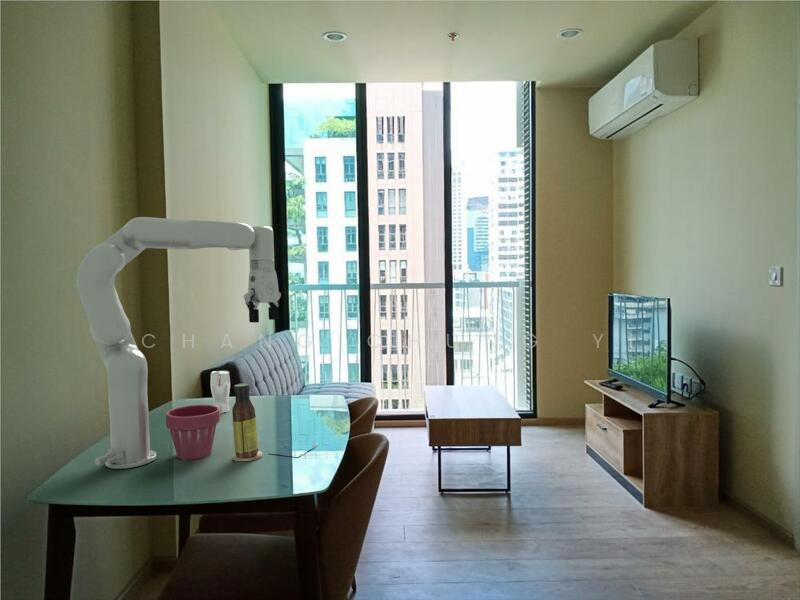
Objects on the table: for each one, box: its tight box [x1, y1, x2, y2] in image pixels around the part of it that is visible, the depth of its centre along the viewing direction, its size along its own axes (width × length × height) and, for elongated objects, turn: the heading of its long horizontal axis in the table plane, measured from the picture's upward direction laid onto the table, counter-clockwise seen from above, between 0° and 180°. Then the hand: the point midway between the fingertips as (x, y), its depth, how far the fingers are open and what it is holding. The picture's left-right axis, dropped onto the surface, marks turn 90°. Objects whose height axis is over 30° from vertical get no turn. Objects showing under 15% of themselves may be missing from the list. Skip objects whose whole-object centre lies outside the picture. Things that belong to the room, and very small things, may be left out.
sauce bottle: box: [231, 382, 259, 458], centre depth 145 cm, size 7×6×20 cm
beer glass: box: [210, 370, 231, 414], centre depth 196 cm, size 7×7×15 cm
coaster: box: [231, 450, 263, 462], centre depth 146 cm, size 8×8×1 cm
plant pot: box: [165, 404, 221, 461], centre depth 149 cm, size 14×14×13 cm
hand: (264, 320), depth 164 cm, fingers open, 9 cm apart
